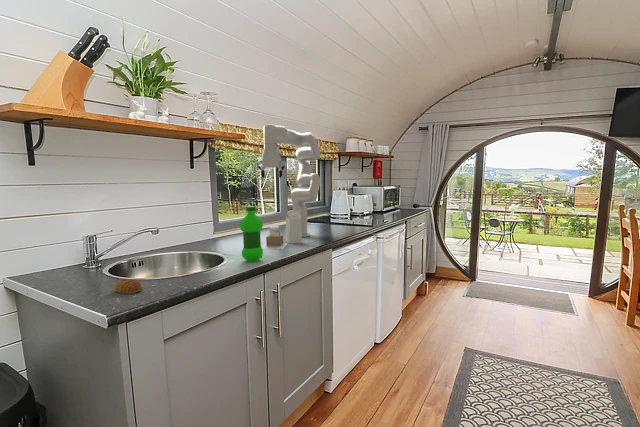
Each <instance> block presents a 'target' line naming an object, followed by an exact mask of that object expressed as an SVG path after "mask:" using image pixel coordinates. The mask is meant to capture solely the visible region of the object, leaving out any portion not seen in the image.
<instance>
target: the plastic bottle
mask: <svg viewBox="0 0 640 427" xmlns="http://www.w3.org/2000/svg"><path fill="white" fill-rule="evenodd" d="M256 209H257V208H256V206H255V205H254V206H252V205H251V206H245V210H246V211H247V214H246V215H245V216H244V217H243V218H242V219H241V220H240V223H239V228H240V230H241V232H242V238H243V248H242V250H241V256H242V258H243V259H244V260H245V261H247V262H250V263H254V262H258V261H259V260H260V259H262V257H263V255H264V249H262V243H261V241H262V240H261V231H262V230H263V227H264V226H263V225H264V224H263V220H262V219H261V218H260V217H259V216H258V215H257V214H255V211H256Z"/></svg>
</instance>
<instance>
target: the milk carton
mask: <svg viewBox="0 0 640 427" xmlns="http://www.w3.org/2000/svg"><path fill="white" fill-rule="evenodd" d="M286 212H287V213H286V216H285V241H286V242H287V243H288V244H298V243H303V237H302V225H301V216H300V214H299V211H293V210H291V211H286ZM286 242H285V243H286Z"/></svg>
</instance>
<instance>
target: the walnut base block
mask: <svg viewBox="0 0 640 427" xmlns="http://www.w3.org/2000/svg"><path fill="white" fill-rule="evenodd" d="M265 241H266V246H281V245H282V244H283V243H284V234H280V236H279V237H270V234H267V236H266V237H265Z"/></svg>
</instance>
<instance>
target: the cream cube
mask: <svg viewBox="0 0 640 427" xmlns="http://www.w3.org/2000/svg"><path fill="white" fill-rule="evenodd" d="M268 230H269V235H270V237H279V236H280V235H281V226H279V225H276V226H275V225H274V226H272V225H271V226H270V227H269V229H268Z"/></svg>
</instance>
